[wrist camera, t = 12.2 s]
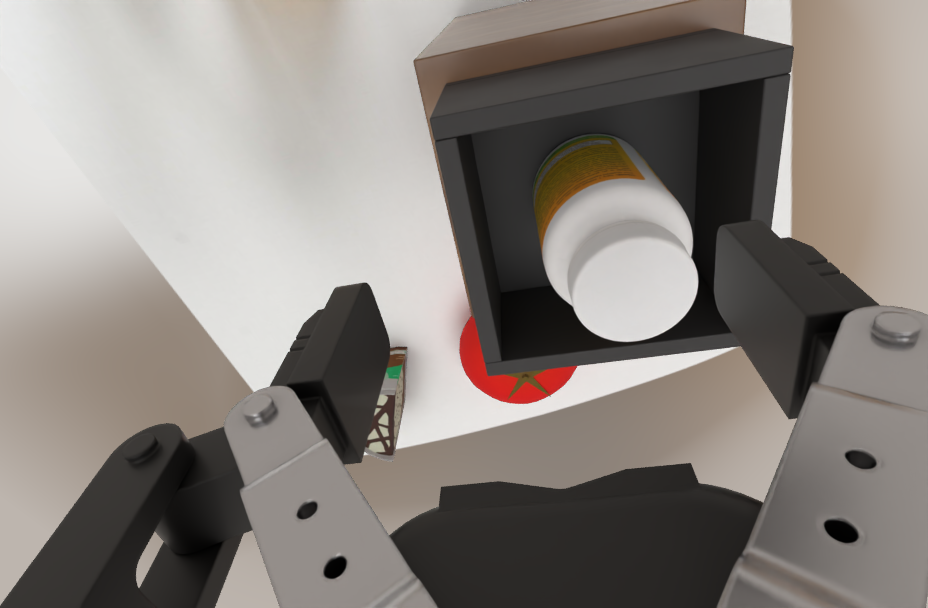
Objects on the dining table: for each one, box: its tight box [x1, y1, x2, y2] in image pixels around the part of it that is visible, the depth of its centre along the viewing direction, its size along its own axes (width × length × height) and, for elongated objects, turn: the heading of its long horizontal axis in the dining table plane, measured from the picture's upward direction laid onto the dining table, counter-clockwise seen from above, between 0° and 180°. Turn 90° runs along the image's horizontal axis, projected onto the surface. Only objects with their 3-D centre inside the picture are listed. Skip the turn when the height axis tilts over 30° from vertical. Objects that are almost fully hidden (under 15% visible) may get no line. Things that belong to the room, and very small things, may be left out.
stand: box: [414, 0, 746, 318], centre depth 37 cm, size 14×14×28 cm
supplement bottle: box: [533, 134, 698, 342], centre depth 21 cm, size 5×5×10 cm
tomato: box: [459, 316, 577, 404], centre depth 59 cm, size 14×13×10 cm
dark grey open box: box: [430, 28, 794, 376], centre depth 22 cm, size 12×12×7 cm
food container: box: [364, 347, 407, 462], centre depth 65 cm, size 12×6×10 cm, turn 175°
